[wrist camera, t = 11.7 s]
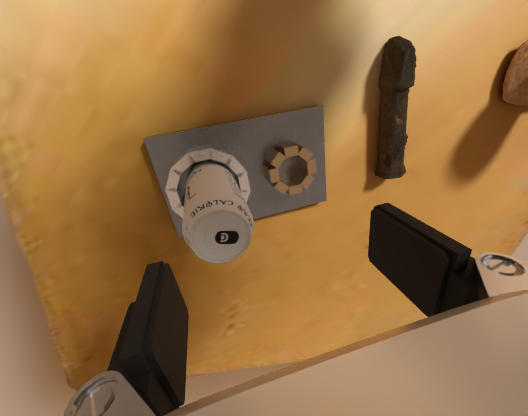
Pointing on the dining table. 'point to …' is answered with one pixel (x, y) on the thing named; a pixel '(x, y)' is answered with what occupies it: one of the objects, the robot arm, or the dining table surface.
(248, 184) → the manifold board
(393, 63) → the hand tool
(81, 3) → the dining table surface
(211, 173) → the energy drink can
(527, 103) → the stone cup
